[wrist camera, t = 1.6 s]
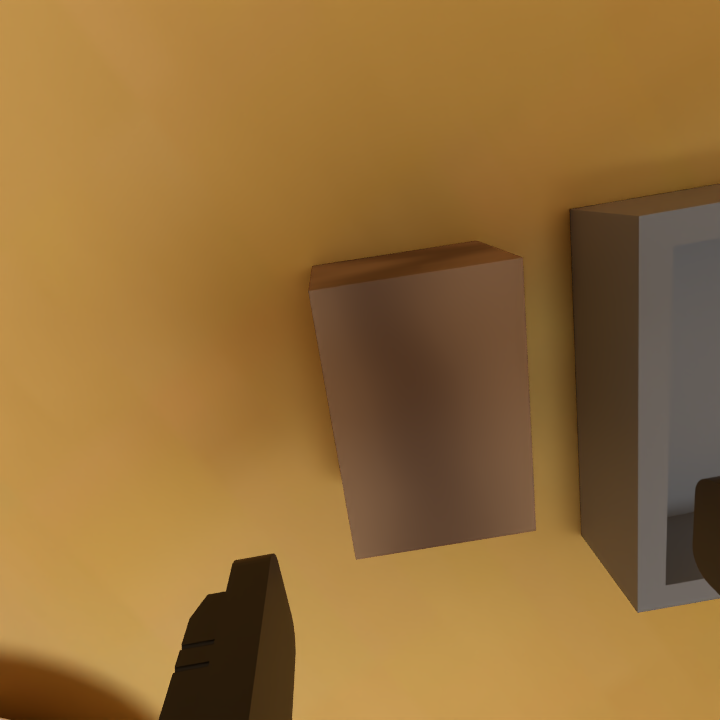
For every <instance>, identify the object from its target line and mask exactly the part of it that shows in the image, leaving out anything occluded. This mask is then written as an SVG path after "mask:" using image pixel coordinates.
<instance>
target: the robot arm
mask: <svg viewBox="0 0 720 720" xmlns="http://www.w3.org/2000/svg"><path fill="white" fill-rule="evenodd" d="M692 546H693V555H694V559H695V562H696V564H697V567H698V569H699V571H700V573H701V574H702V576H703V577H704V579H705V580H706V581H707V583H708V584H709V585H710V586H711V587H712V588H713V589H714V590H715V591H716V592H717V593H718V594H719V595H720V476H716V477H711V478H705V479H701V480H700V481H699V482H698V483H697V485H696V488H695V503H694V524H693V544H692ZM295 653H296V649H295V633H294V625H293V620H292V615H291V611H290V607H289V603H288V599H287V595H286V591H285V587H284V583H283V579H282V575H281V571H280V567H279V563H278V560H277V557H276V555H275V554H268V555H262V556H257V557H251V558H245V559H240V560H235V561H234V562H233V564H232V568H231V572H230V577H229V581H228V585H227V589H226V592H220V593H214V594H209V595H207V596H206V598H205V599H204V600H203V602H202V603H201V604H200V606H199V607H198V608H197V610H196V611H195V612H194V614H193V615H192V616H191V618H190V619H189V622H188V625H187V629H186V632H185V635H184V639H183V642H182V650H180V652H179V655H178V658H177V662H176V665H175V673H173V675H172V678H171V681H170V684H169V688H168V691H167V694H166V698H165V701H164V704H163V707H162V711H161V714H160V717H159V720H292V708H293V690H294V672H295Z"/></svg>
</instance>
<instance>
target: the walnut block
mask: <svg viewBox="0 0 720 720" xmlns="http://www.w3.org/2000/svg"><path fill="white" fill-rule="evenodd" d="M308 292H309V297H310V303H311V309H312V314H313V320H314V326H315V331H316V337H317V343H318V348H319V354H320V360H321V365H322V371H323V376H324V382H325V388H326V393H327V399H328V405H329V410H330V416H331V422H332V427H333V433H334V438H335V444H336V450H337V455H338V461H339V467H340V472H341V478H342V484H343V489H344V495H345V501H346V506H347V512H348V517H349V523H350V529H351V534H352V540H353V546H354V551H355V557H356V560H357V559H363V558H369V557H375V556H382V555H388V554H394V553H400V552H406V551H413V550H419V549H425V548H431V547H437V546H444V545H450V544H456V543H462V542H468V541H474V540H481V539H487V538H493V537H499V536H505V535H512V534H518V533H524V532H530V531H536V520H535V499H534V479H533V458H532V438H531V417H530V396H529V376H528V355H527V335H526V314H525V294H524V273H523V258H522V257H520V256H517V255H514V254H511V253H509V252H506V251H503V250H501V249H498V248H495V247H492V246H490V245H487V244H484V243H482V242H479V241H471V242H465V243H458V244H452V245H445V246H439V247H432V248H426V249H419V250H413V251H406V252H400V253H393V254H387V255H380V256H374V257H367V258H361V259H355V260H348V261H342V262H335V263H329V264H322V265H316V266H312V272H311V278H310V284H309V290H308Z"/></svg>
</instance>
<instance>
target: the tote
mask: <svg viewBox="0 0 720 720" xmlns="http://www.w3.org/2000/svg"><path fill="white" fill-rule="evenodd" d="M570 229H571V256H572V284H573V312H574V340H575V367H576V395H577V423H578V451H579V478H580V506H581V534H582V537H583V538H584V540H585V541H586V542H587V544H588V545H589V546H590V548H591V549H592V551H593V552H594V553H595V555H596V556H597V557H598V559H599V560H600V562H601V563H602V564H603V566H604V567H605V568H606V570H607V571H608V573H609V574H610V575H611V577H612V578H613V579H614V581H615V582H616V583H617V585H618V586H619V588H620V589H621V590H622V592H623V593H624V594H625V596H626V597H627V599H628V600H629V601H630V603H631V604H632V605H633V607H634V608H635V610H636V611H637V612H638V613H639V612H644V611H650V610H656V609H661V608H667V607H673V606H679V605H684V604H690V603H696V602H701V601H707V600H713V599H719V598H720V595H719V594H718V593H717V592H716V591H715V590H714V589H713V588H712V587H711V586H710V585H709V584H708V583H707V581H706V580H705V579H704V577H703V576H702V574H701V573H700V571H699V569H698V567H697V564H696V562H695V559H694V555H693V546H692V544H693V524H694V503H695V488H696V485H697V483H698V482H699V481H700V480H701V479H705V478H711V477H716V476H720V184H715V185H710V186H704V187H698V188H692V189H686V190H680V191H674V192H668V193H663V194H657V195H651V196H645V197H639V198H633V199H627V200H622V201H616V202H610V203H604V204H598V205H592V206H586V207H581V208H575V209H570Z"/></svg>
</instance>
